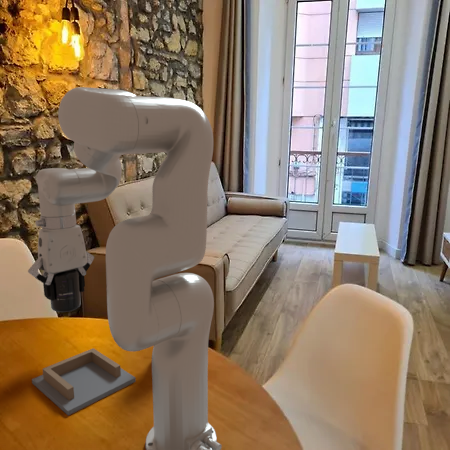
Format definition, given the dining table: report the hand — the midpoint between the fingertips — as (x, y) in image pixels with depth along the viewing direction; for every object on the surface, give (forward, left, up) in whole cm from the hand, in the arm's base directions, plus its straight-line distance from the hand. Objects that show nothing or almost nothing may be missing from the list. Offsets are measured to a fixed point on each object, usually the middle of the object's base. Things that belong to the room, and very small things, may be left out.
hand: (65, 294), depth 105 cm
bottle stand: (-14, +4, -16) cm, 21 cm away
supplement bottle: (0, 0, -4) cm, 4 cm away
